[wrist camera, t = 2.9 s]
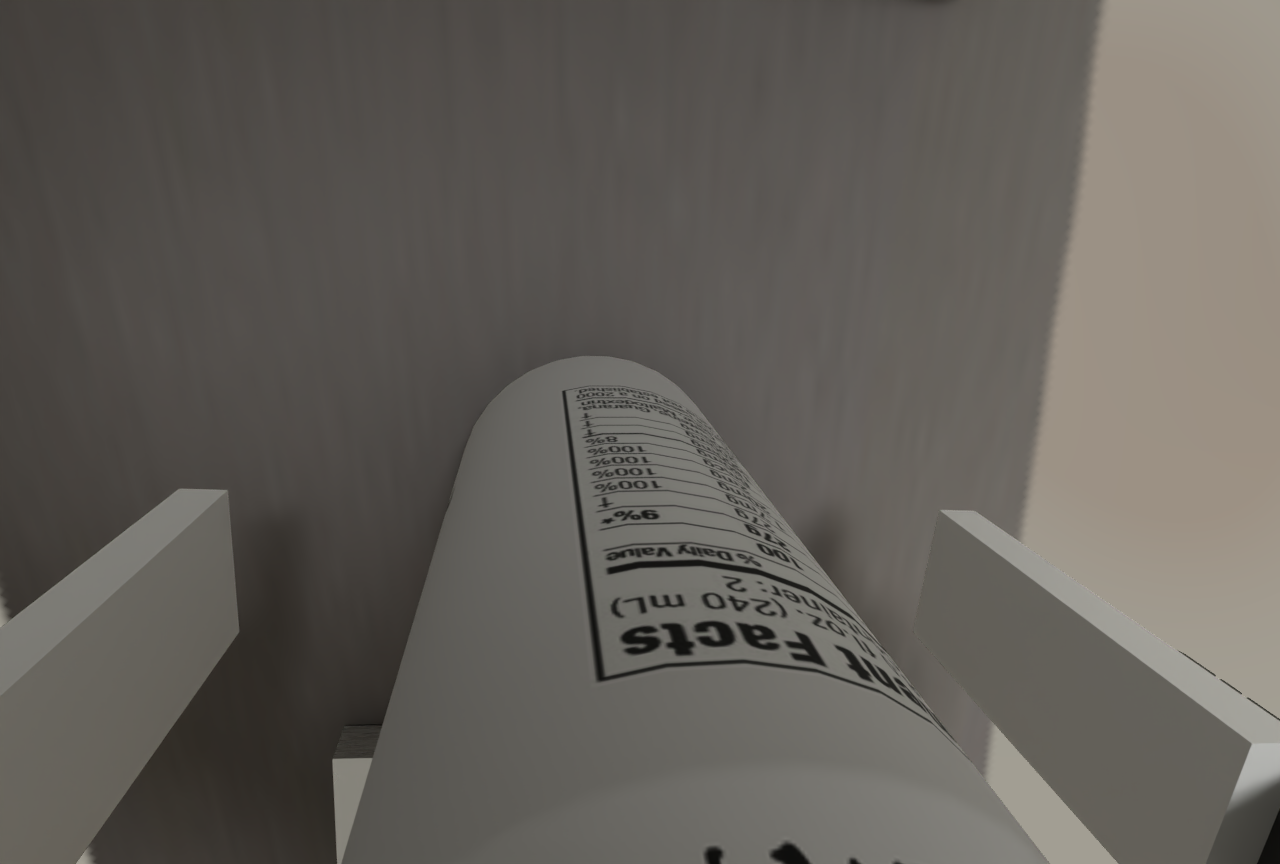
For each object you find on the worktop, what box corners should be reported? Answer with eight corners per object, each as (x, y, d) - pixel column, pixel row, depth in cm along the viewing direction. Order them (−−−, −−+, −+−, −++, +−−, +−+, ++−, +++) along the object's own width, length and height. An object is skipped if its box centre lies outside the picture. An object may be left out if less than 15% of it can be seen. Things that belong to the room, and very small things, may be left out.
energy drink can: (411, 453, 17) (-185, 1632, 3) (610, 294, 17) (1012, 815, 3) (571, 618, 19) (664, 1813, 5) (754, 481, 19) (1442, 1371, 4)
